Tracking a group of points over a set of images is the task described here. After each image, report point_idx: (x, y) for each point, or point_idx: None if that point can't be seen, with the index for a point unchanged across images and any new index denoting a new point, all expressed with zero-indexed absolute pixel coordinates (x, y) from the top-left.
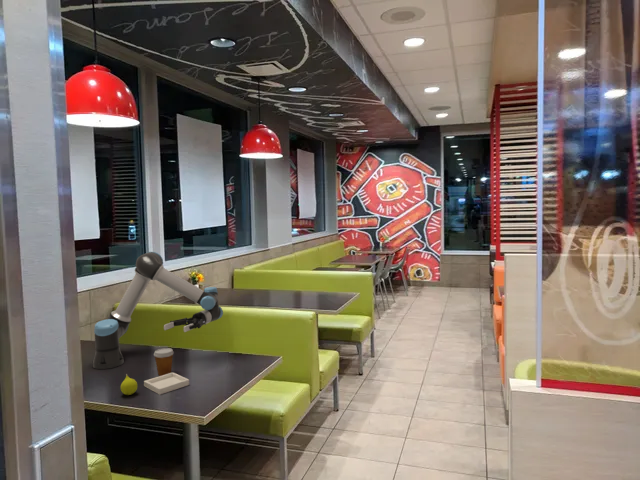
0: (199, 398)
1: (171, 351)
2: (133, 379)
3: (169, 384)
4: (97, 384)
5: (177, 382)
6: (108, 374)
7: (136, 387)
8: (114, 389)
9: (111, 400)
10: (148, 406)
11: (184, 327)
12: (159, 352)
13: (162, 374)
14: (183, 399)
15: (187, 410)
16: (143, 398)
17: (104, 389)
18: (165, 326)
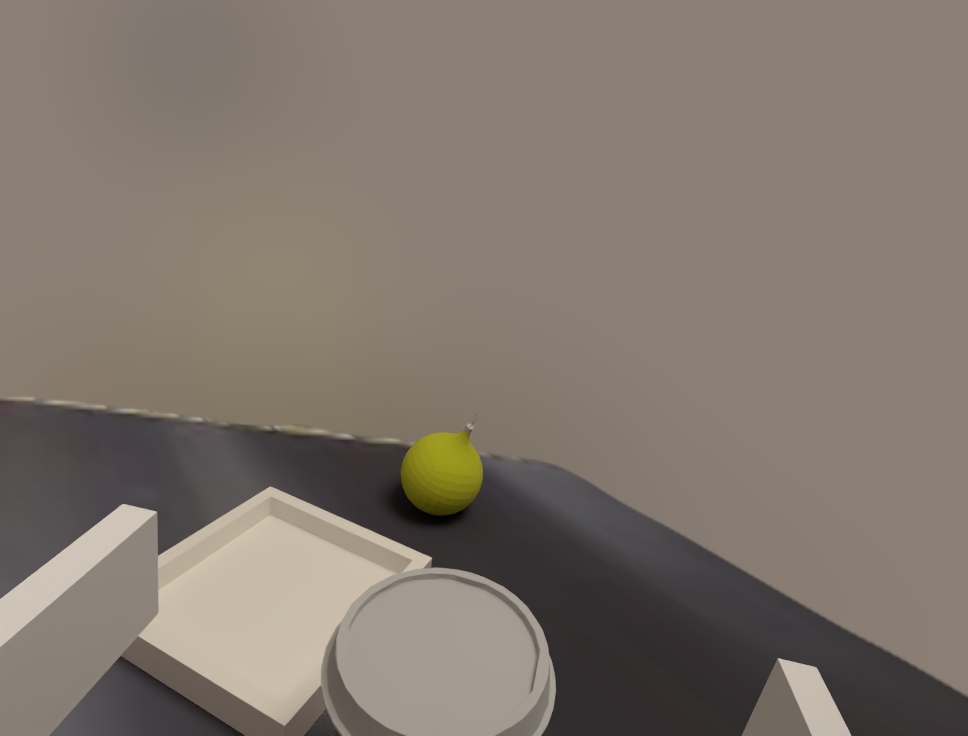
0: (6, 493)
1: (334, 643)
2: (430, 451)
3: (248, 590)
4: (715, 580)
5: (176, 556)
6: (861, 724)
7: (401, 475)
8: (561, 541)
9: None
10: (274, 439)
11: (128, 519)
12: (468, 612)
13: None
14: (110, 482)
15: (78, 421)
16: (337, 482)
17: (610, 538)
18: (769, 705)
